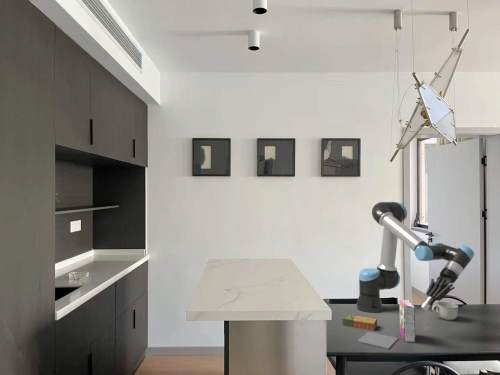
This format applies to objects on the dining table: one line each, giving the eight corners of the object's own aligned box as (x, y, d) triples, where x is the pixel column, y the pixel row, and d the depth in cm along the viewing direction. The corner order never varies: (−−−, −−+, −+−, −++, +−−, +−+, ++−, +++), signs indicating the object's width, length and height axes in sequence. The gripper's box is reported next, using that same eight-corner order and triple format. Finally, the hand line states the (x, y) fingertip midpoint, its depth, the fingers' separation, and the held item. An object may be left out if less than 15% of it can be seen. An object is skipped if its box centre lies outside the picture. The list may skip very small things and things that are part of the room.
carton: (374, 331, 183) (374, 323, 183) (342, 326, 191) (342, 317, 191) (377, 326, 190) (377, 318, 190) (346, 321, 198) (346, 313, 198)
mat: (368, 332, 180) (368, 331, 180) (397, 339, 172) (397, 338, 172) (357, 341, 168) (357, 340, 168) (388, 349, 160) (388, 348, 160)
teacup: (452, 315, 208) (452, 301, 209) (462, 322, 198) (461, 307, 198) (427, 314, 210) (427, 300, 210) (435, 321, 199) (434, 306, 199)
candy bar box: (399, 333, 180) (398, 299, 180) (410, 334, 179) (409, 300, 179) (403, 341, 169) (403, 305, 169) (415, 342, 168) (415, 306, 168)
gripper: (466, 280, 177) (438, 318, 171) (445, 274, 189) (418, 310, 184) (457, 269, 175) (429, 307, 170) (436, 264, 188) (409, 300, 182)
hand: (423, 308), depth 177 cm, fingers closed
